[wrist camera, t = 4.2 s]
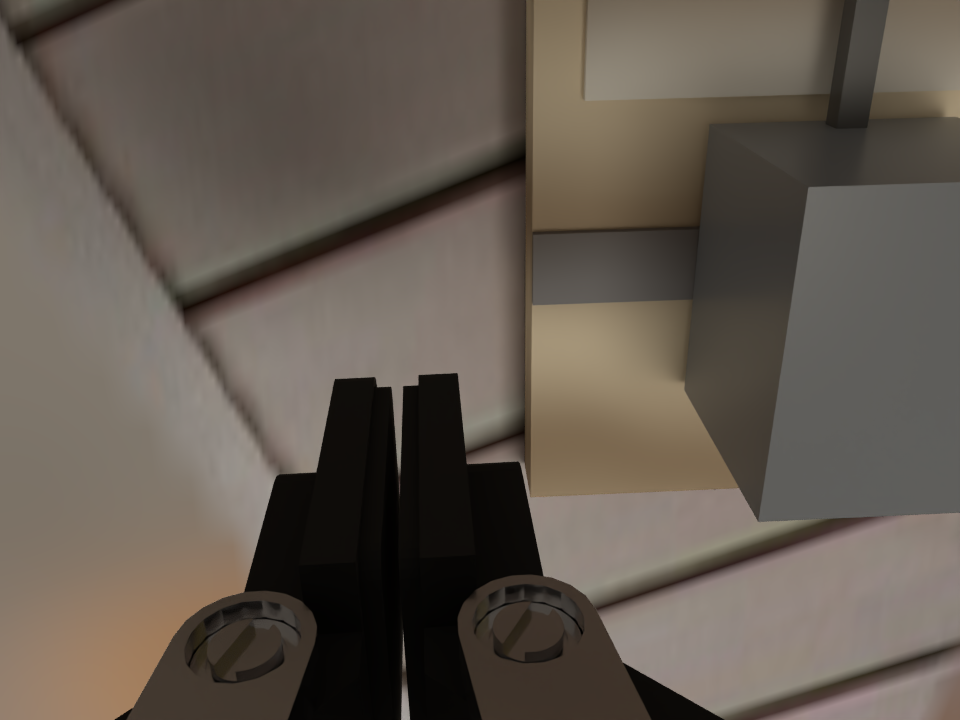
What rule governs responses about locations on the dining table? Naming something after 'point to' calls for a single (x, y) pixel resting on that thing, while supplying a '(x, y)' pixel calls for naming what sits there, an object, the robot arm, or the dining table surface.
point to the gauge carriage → (832, 302)
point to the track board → (661, 204)
